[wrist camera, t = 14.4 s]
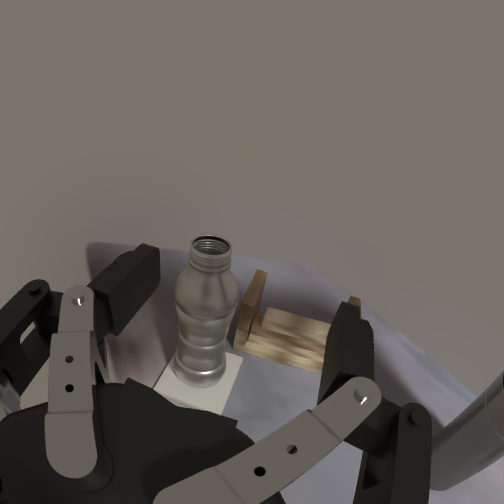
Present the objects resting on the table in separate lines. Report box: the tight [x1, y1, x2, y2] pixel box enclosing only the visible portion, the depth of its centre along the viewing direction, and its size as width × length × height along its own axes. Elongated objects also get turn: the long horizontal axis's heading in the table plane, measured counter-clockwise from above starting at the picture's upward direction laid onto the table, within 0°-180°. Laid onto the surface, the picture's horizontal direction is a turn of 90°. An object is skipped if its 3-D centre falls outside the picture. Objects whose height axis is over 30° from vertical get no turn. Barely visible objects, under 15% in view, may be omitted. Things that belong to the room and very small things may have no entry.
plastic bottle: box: [173, 235, 240, 389], centre depth 32 cm, size 6×7×20 cm
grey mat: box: [154, 352, 243, 415], centre depth 37 cm, size 9×10×1 cm
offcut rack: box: [233, 269, 361, 374], centre depth 42 cm, size 16×8×9 cm, turn 75°
